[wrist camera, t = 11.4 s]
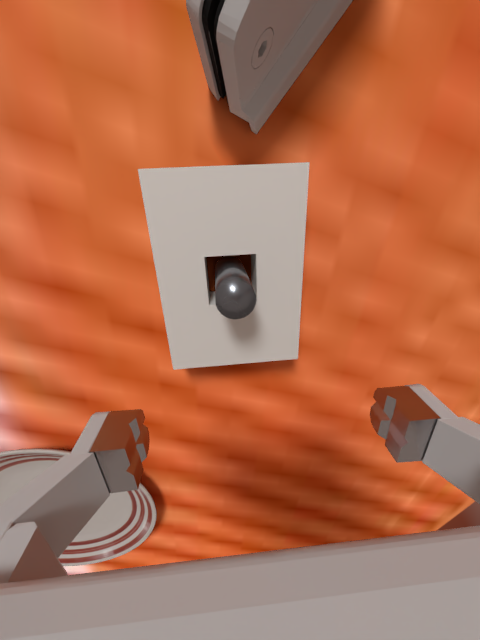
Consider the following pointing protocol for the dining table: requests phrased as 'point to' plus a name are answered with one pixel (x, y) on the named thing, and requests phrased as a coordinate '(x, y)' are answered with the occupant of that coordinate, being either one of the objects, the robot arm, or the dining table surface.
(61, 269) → the dining table surface
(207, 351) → the grey block with hole
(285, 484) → the dining table surface
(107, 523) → the dinner plate
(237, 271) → the pin
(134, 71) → the dining table surface
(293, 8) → the grey curved slotted block
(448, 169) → the dining table surface
